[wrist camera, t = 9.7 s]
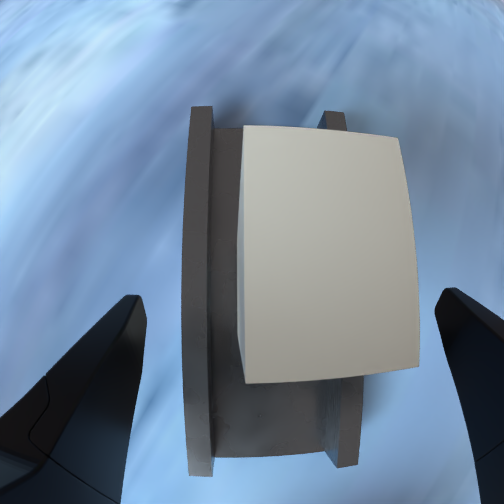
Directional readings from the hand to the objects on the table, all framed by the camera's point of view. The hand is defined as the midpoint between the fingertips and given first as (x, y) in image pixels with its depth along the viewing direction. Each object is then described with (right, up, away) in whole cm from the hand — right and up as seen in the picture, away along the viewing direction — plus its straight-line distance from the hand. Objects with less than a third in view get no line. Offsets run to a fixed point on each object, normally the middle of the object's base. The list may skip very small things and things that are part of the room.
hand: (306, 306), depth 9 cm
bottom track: (-1, -1, +10) cm, 10 cm away
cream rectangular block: (-1, -1, +9) cm, 9 cm away
